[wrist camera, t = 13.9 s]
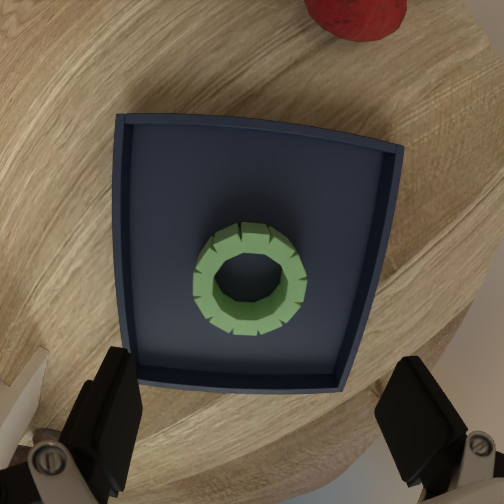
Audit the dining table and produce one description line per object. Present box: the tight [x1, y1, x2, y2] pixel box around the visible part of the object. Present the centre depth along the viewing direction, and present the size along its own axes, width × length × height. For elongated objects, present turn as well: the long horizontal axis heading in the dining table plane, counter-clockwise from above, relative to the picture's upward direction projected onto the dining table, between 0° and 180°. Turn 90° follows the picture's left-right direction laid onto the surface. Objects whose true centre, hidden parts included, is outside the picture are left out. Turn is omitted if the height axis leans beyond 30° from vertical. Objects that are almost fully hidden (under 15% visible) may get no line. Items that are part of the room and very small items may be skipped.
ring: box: [193, 222, 307, 336], centre depth 19 cm, size 7×7×2 cm
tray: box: [112, 113, 404, 394], centre depth 20 cm, size 17×19×2 cm
